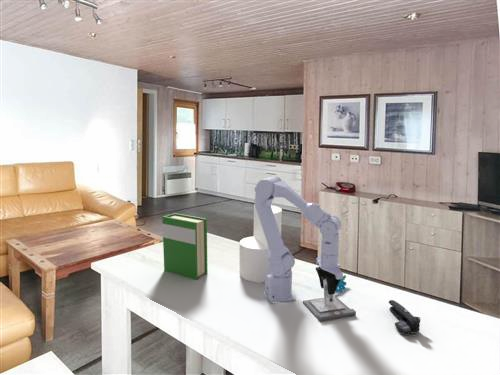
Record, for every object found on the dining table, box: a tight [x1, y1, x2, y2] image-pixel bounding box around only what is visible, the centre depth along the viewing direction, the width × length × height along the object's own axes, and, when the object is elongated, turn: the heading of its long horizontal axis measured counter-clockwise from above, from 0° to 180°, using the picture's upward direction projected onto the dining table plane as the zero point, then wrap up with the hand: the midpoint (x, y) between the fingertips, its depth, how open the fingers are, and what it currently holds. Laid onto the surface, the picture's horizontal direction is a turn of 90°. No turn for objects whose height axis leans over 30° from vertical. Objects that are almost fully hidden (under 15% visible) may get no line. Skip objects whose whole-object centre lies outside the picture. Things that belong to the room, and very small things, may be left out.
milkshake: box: [322, 279, 336, 306], centre depth 122 cm, size 4×5×10 cm
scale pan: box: [309, 298, 346, 313], centre depth 123 cm, size 10×8×1 cm
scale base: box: [302, 295, 357, 323], centre depth 122 cm, size 13×13×2 cm
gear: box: [335, 274, 347, 293], centre depth 139 cm, size 11×6×10 cm
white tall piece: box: [239, 204, 283, 283], centre depth 149 cm, size 17×17×28 cm
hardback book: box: [162, 212, 208, 281], centre depth 150 cm, size 18×7×24 cm, turn 59°
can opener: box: [388, 299, 421, 336], centre depth 114 cm, size 18×7×6 cm, turn 179°
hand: (327, 290), depth 122 cm, fingers closed on milkshake, 4 cm apart
